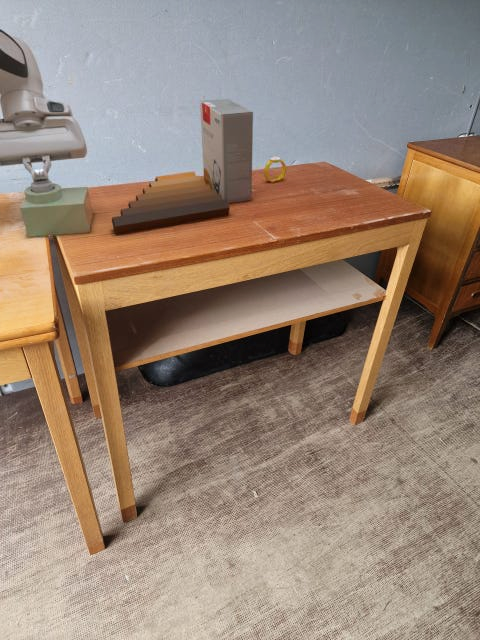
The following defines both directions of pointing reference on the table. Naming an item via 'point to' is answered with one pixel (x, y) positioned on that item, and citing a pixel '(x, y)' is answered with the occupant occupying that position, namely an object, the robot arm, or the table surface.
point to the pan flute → (171, 204)
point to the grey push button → (42, 186)
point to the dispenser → (57, 211)
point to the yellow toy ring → (272, 160)
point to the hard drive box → (227, 148)
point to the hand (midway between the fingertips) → (41, 179)
